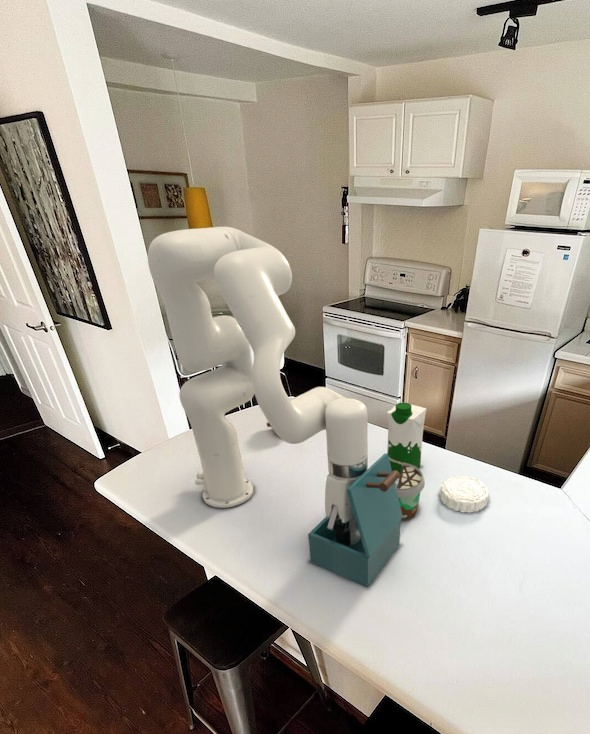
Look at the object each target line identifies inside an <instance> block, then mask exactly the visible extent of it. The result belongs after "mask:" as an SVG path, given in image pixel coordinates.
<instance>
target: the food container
mask: <svg viewBox="0 0 590 734" xmlns="http://www.w3.org/2000/svg"><path fill="white" fill-rule="evenodd" d="M397 481H398V482H397V484H396V485H397V486H396V490H397V495H398V499H399V503H400V507H401V512H402V516H403V517H402V518H401V521H407V520H411V519H412V518H414V517H415V516H416V515H417V513H418V508H419V503H420V497H421V492H422V491H423V490H424V488H425V484H426V483H425V477H424V475H423V472H422V471H421V470H420V468H417V467H415V466H413V465H411V464H408V463H402V470H401V474H400V477H399V478H398V480H397Z"/></svg>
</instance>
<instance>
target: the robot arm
mask: <svg viewBox="0 0 590 734" xmlns="http://www.w3.org/2000/svg"><path fill="white" fill-rule="evenodd" d="M147 264H148V270H149V273H150V276H151V279H152V281H153V283H154V285H155V287H156V289H157V291H158V294H159V295H160V298H161V300H162V302H163V306H164V310H165V313H166V317H167V321H168V325H169V330H170V334H171V337H172V342H173V346H174V350H175V354H176V356H177V359H178V361H179V363H180V365H181V366H182V368H184V370H186V371H189V372H193V373H195V372H196V373H197V372H204V371H206V370H207V372H204V373H201V374H199V375H196V376H194V377H192V378H190V379H189V380H187V381H186V382H184V383H183V384H182V385H181V387H180V389H179V393H178V396H179V397H178V398H179V400H180V404H181V406H182V408H183V410H184V412H185V415H186V416H187V419H188V421H189V424H190V427H191V430H192V433H193V437H194V441H195V445H196V449H197V452H198V456H199V460H200V464H201V469H202V471H198V472H196V475H195V476H196V477H195V478H196V479H195V480H194V483H195V485H198V486H202V487H203V490H202V492H201V493H202V494H201V495H202V499H203V501H204V503H205V504H207V505H208V506H210V507H213V508H219V509H220V508H221V509H226V508H232V507H236V506H239V505H241V504H243V503H246V502H247V501H248V500H249V499H250V498H251V497H252V495H253V493H254V484H253V483H252V481H250V479H248V478H246V475H245V470H244V464H243V459H242V454H241V453H242V452H241V447H240V443H239V438H238V437H239V436H238V433H237V429H236V427H235V425H234V424H233V423H232V422H231V421H230V420H229V419H227V417H226V413H229V412H230V411H232V410H234V409H236V408H238V407H240V406H243V405H244V404H246V403H248V402H249V401H251V400H252V399H253V398H254V396H255V400H256V402H257V404H258V407H259V408H260V411H261V412H262V415H264V417H265V419H266V421H267V422H268V423H269V424H270V425H271V427H270V428H272V430H273V431H274V433H275V434H276V435H277V436H278V437H279V438H280V439H281V440H282V441H284V442H286V443H288V444H290V445H298V444H302V443H304V442H305V441H307V440H309V439H310V438H312V437H314V436H316V435H317V434H318V433H320V432H323V431H325V435H326V436H325V437H326V452H327V469H328V474H327V476H326V481H325V482H326V483H325V490H324V512H325V513H324V514H325V517H328V518H330V519H329V523H328V526H327V529H330V530H332V531H336V540H337V542H339V543H342V544H344V545H347V546H349V545H350V544H351V540H350V530H348V527H349V520H350V519H351V518H352V517H353V516H354V513H353V509H352V506H351V502H350V499H349V496H348V492H347V488H348V487H349V486H350V485H352V484H353V483H354V482H355V481H356V480H357V479H358V478H359V477H360V476H361V475H362V474H363V473H364V472H365V471H367V470H368V469H369V467H368V463H369V462H368V454H369V453H368V452H369V451H368V450H369V449H368V448H369V447H368V443H369V442H368V441H369V439H368V427H369V426H368V425H369V424H368V420H369V419H368V415H369V414H368V408H367V406H366V405H365V403H364V402H363V401H361V400H359V399H355V398H351V397H345V396H343V395H342V394H340V393H338V392H336V391H335V390H333V389H331V388H328V387H326V386H316V387H314V388H311V389H309V390H308V391H305V392H304V393H301V394H299V395H298V396H296V397H293V398H292V399H290V397H289V396H288V394H287V392H286V391H285V388H284V386H283V383H282V379H281V362H282V359H283V355H284V353H285V351H286V349H288V347H289V345H290V344H291V343H292V341H293V340H294V338H295V336H296V327H295V326H294V324H293V322H292V320H291V319H290V317H289V315H288V313H287V311H286V309H285V307H284V305H283V303H282V301H281V299H280V297H279V296H281V295H282V296H283V295H284V294H286V293H287V292H288V291H289V290H290V289H291V286H292V283H293V274H292V273H293V272H292V268H291V266H290V263H289V261H288V260H287V258H286V256H285V255H284V254H283V253H282V252H281V251H280V250H279V249H278V248H277V247H275V246H273V245H271V244H270V243H267V242H266V241H264V240H262V239H259V238H257V237H255V236H253V235H250V234H248V233H246V232H244V231H242V230H241V229H238V228H235V227H231V226H212V227H201V228H187V229H178V230H177V229H176V230H171V231H168V232H165V233H162V234H159V235H158V236H156V237H155V238H153V240H152V241H151V242H150V244H149V245H148V250H147ZM211 280H213V281H214V282H215V285H216V287H217V289H218V291H219V292H220V294H221V296H222V298H223V300H224V302H225V303H226V305H227V307H228V308H229V310H230V312H231V314H232V315H233V316H230V315H218V316H215V317H213V314H212V308H211V303H210V300H209V297H208V296H207V294H206V293H205V291H204V290H203V289H202V287H201V286H200V285H199V284H198V283H200V282H206V281H211ZM251 350H252V351H251ZM252 352H253V357H252ZM252 358H253V359H252ZM219 366H221V367H219ZM216 367H218V368H216ZM213 368H215V369H213ZM210 369H211V370H210ZM340 520H341V521H342V523H344V526H342V525H340V524H339V523H340ZM356 527H357V528H358V526H357V523H356Z"/></svg>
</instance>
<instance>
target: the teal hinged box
mask: <svg viewBox="0 0 590 734" xmlns="http://www.w3.org/2000/svg"><path fill="white" fill-rule="evenodd" d="M329 519H330V518H328V517H326V516H325V517H324V518H323V519H322V520H321V521H320V522H318V524H317V525H315V527H314V528H312V530H311V531H309V533H308V534H307V539H308V548H309V559H310V563H313V564H315V565H318V566H320V567H322V568H324V569H326V570H329V571H331V572H333V573H336V574H337V575H340V576H342V577H344V578H347V579H348V580H351V581H353V582H356V583H358V584H360V585H362V586H365V587H367V588H368V587H369V586H370V585H371V583H372V582H373V581H374V580H375V578H376V577H377V575H378V574H380V572H381V571H382V569H383V568H384V567H385V565H386V564H387V562H388V561H389V560H390V558H391V557H392V556H393V554H395V552H396V551H397V549H398V548H399V547H400V540H401V524H402V520H401V519H400V521H399V522H398V523H397V524H396V526H395V527H394V528H393V529H392V531H391V532H390V533H389V534H388V535H387V537H386V538H385V539H384V540H383V542H382V543H381V544H380V545H379V546H378V548H377V549H376V550H375V551H374V553H373V554H372V555H371V556H370V557H366V554H365V550H364V547H363V544H362V540H361V537H360V540H359V541H358V542H357V543H355V544H352V545H349V546H347V545H344V544H342V543H339V542H337V540H336V531H332V530H330V529H327V526H328V523H329ZM339 524H340V525H342V526H344V523H342V521H341V520H340V523H339Z"/></svg>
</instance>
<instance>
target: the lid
mask: <svg viewBox="0 0 590 734" xmlns="http://www.w3.org/2000/svg"><path fill="white" fill-rule="evenodd" d="M367 469H368V470H367V471H365V472H364V473H363V474H362V475H361V476H360V477H359V478H358V479H357V480H356V481H355V482H354V483H353V484H352V485H350V486H349V487H348V488H347V492H348V496H349V499H350V502H351V506H352V509H353V513H354V516H355V520H356V523H357V526H358V530H359V533H360V537H361V540H362V544H363V547H364V550H365V554H366V557H370V556H371V555H372V554H373V553H374V551H375V550H376V549H377V548H378V546H379V545H380V544H381V543H382V542H383V540H384V539H385V538H386V537H387V535H388V534H389V533H390V532H391V531H392V529H393V528H394V527H395V526H396V524H397V523H398V522H399V521H400V519H401V518H402V517H403V516H402V512H401V507H400V503H399V499H398V495H397V490H396V488H397V486H396V482H397V481H399V477H400V473H399V472H398V471H396V470H393V471H392V469H391V465H390V461H389V456H388V454H387V453H383V454H382V455H381V456H380V457H379V458H378V459H377V460H376V461H375V462H374V463H373V464H371V465H370V467H368V468H367Z"/></svg>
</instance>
